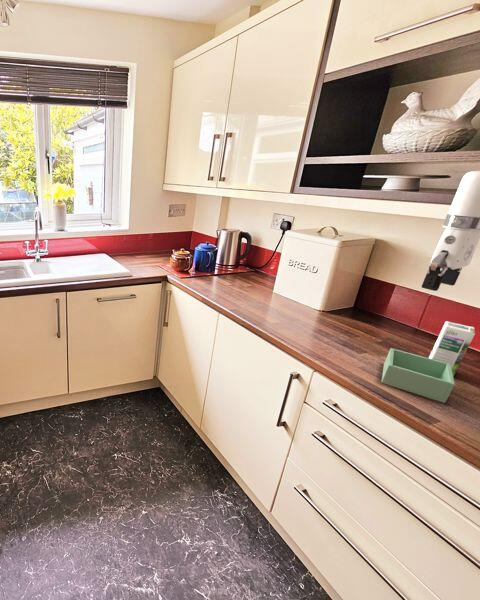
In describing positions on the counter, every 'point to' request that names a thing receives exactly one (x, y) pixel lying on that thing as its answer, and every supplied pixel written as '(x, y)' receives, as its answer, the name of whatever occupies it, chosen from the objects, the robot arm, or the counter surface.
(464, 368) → the counter surface
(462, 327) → the syrup box
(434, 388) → the bin
